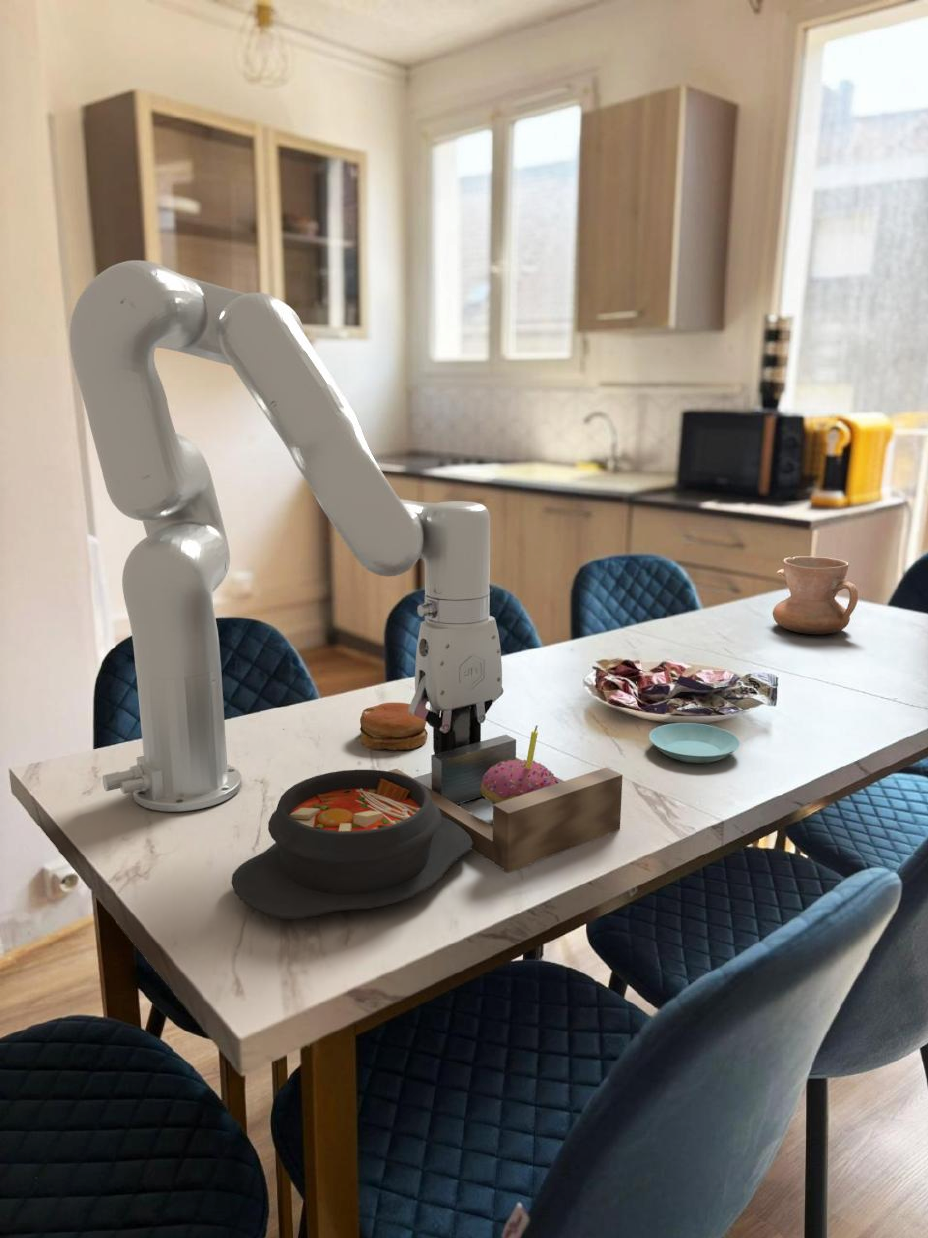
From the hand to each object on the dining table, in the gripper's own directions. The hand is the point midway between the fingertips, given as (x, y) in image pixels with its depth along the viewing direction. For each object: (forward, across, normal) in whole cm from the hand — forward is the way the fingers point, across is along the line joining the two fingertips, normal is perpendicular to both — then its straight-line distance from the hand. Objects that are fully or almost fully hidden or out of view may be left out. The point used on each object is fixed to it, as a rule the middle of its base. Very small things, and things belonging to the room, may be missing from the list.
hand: (457, 754), depth 112 cm
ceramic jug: (+5, +101, +17) cm, 103 cm away
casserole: (+5, -20, -11) cm, 24 cm away
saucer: (+5, +32, -10) cm, 34 cm away
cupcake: (+4, 0, -12) cm, 13 cm away
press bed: (+4, 0, -8) cm, 9 cm away
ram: (+4, 0, -1) cm, 4 cm away
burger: (+5, +2, +18) cm, 19 cm away
